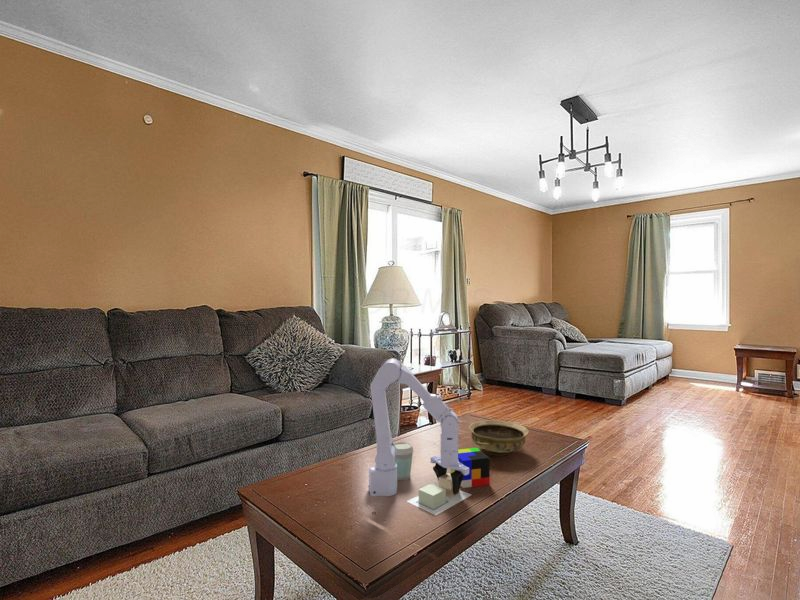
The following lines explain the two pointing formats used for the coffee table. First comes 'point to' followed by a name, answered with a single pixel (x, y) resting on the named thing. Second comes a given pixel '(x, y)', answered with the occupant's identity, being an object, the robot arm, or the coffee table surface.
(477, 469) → the puzzle toy
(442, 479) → the maple block
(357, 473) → the coffee table surface
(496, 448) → the ceramic bowl
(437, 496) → the sage base block
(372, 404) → the robot arm
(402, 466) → the coffee cup
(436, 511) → the board
